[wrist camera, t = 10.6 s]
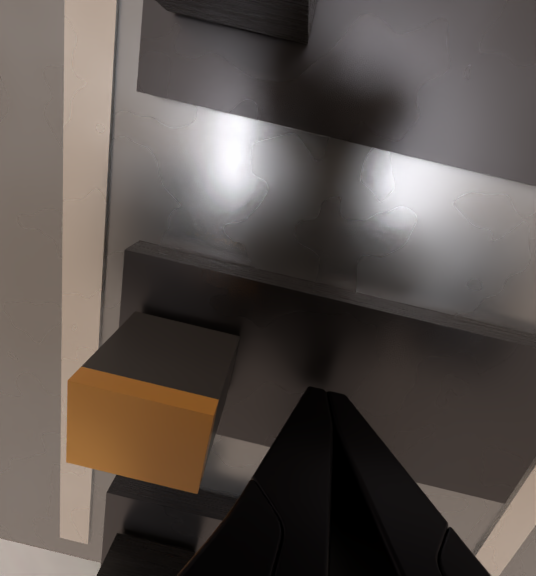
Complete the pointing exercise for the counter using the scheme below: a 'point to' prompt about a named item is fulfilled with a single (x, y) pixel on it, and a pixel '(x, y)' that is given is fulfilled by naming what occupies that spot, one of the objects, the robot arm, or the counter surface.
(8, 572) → the counter surface
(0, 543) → the counter surface
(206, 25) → the breaker panel
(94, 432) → the block
